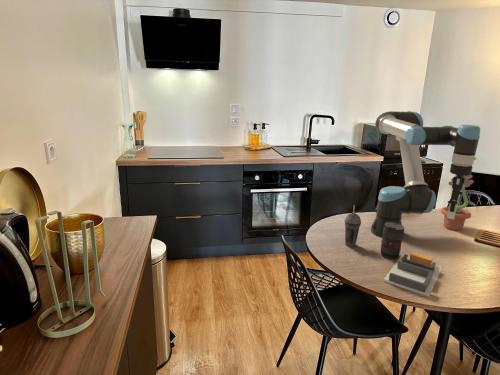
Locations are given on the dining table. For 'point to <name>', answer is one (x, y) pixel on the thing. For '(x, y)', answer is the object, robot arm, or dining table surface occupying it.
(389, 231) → the camera lens
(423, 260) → the orange rectangular brick
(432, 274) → the board
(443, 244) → the dining table surface
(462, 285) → the dining table surface
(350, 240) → the beverage cup
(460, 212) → the decorative flower
